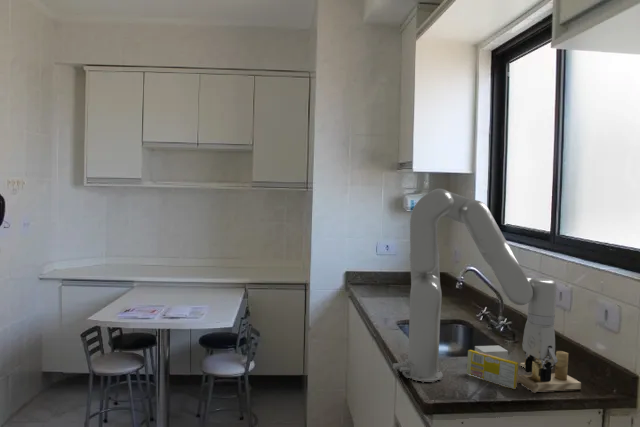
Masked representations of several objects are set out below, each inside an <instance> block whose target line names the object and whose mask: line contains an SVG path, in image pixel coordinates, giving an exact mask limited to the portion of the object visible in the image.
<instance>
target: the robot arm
mask: <svg viewBox="0 0 640 427" xmlns="http://www.w3.org/2000/svg"><path fill="white" fill-rule="evenodd" d="M441 217H443V218H446V219H449V220H453V221H455V222H457V223H461V224H464V225H465V227H466V229H467V231H468V233H469V235H470V236H471V239H472V240H473V242H474V244H475V245H476V247H477V250H478V251H479V254H481V256H482V258H483V259H484V261H485V263H487V265H488V266H489V267H490V269H491V271H492V272H493V273H494V276H495V277H496V279H497V281H498V282H499V284H500V286H501V290H502V293H503V295H504V296H505V297H506V298H507V300H508V301H509V302H510V303H512V304H513V305H516V306H525V305H527V320H526V322H525V325H524V330H523V338H522V343H521V345H522V350H523V352H524V354H525V355H524V360H525V359H526V365H525V369H524V371H525V373H532V361H533V360H536V359H535V358H537V359H539V360H541V363H542V368H541V374H540V381H541V382H550V381H551V374H552V370H553V369H554V368H555V365H556V363H557V361H558V360H557V358H556V332H555V320H556V319H555V316H556V315H555V314H556V313H555V312H556V300H557V299H556V297H557V284H556V281H555V280H553V279H550V278H543V277H536V278H535V277H534V278H532V277H527V275H526V274H525V273H524V271H523V269H522V267H521V265H520V263H519V262H518V260H517V259H516V257H515V254H514V253H513V251H512V248H511V247H510V244H509V242H508V241H507V239H506V238H505V236H504V234H503V233H502V230H501V229H500V227H499V225H498V224H497V222H496V220H495V218H494V216H493V213H492V212H491V211H490V209H489V207H488V206H487V204H486V203H485V202H483V201H480V200H477V199H472V198H469V197H465V196H463V195H460V194H457V193H454V192H451V191H448V190H447V189H445V188H435V189H433V190H431V191H429V192H428V193H427V194H425V195H423V196H422V197H421V198H420V199H419V200H418V201H417V202H416V204H415V205H414V207H413V208H412V210H411V214H410V220H409V240H410V241H409V244H410V245H409V247H410V250H409V262H410V263H409V264H410V284H411V286H410V293H409V323H408V325H409V326H408V328H409V329H408V348H407V349H408V351H407V353H408V354H407V358H405V359H404V361H403V362H401V363H398V362H397V363H395V362H394V363H393V364H392V368H393V370H399V371H400V372H402V375H403V376H404V377H405V378H406V379H408V378H413V379H417V380H424V381H434V380H439V379H441V378H442V377H444V376H443V372H442V371H441V370H440V369H439V354H440V351H439V350H440V334H441V332H440V331H441V310H442V309H441V308H442V302H443V301H442V298H443V296H442V295H443V294H442V293H443V292H442V287H441V277H440V276H441V275H440V252H439V246H438V244H439V243H438V242H439V241H438V224H439V220H440V219H441ZM442 379H443V378H442ZM442 379H441V380H442Z"/></svg>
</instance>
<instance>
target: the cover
mask: <svg viewBox="0 0 640 427" xmlns="http://www.w3.org/2000/svg"><path fill="white" fill-rule="evenodd" d="M474 351H477V352H481V353H484V354H488V355H492V356H495V357H499V358H503V359H507V360H509V351H508V350H507V349H506V348H504V347H502V346H501V345H475V346H474Z"/></svg>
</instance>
